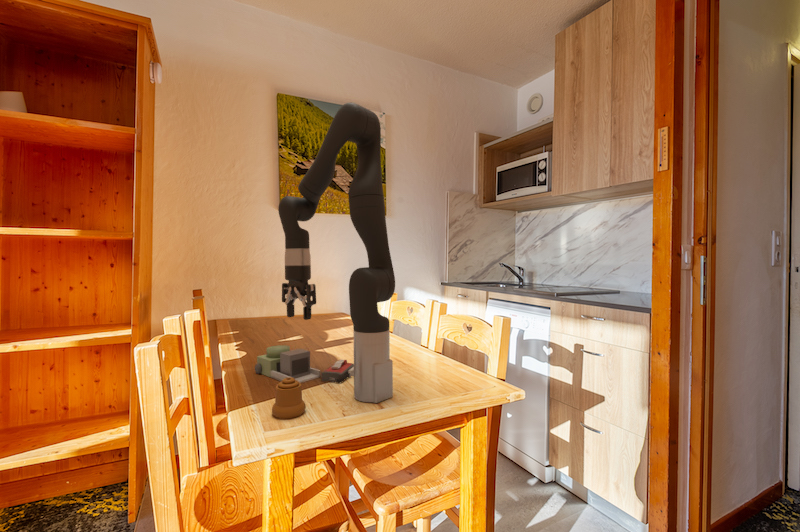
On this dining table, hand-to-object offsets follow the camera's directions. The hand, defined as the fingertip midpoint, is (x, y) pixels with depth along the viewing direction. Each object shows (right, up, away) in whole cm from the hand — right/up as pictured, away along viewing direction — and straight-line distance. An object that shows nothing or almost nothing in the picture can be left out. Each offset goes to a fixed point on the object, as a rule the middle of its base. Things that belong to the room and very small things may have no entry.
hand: (298, 318), depth 116 cm
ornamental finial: (+5, -19, -27) cm, 33 cm away
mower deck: (-4, -18, +2) cm, 18 cm away
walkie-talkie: (+13, -18, +3) cm, 23 cm away
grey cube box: (-1, -17, 0) cm, 17 cm away
